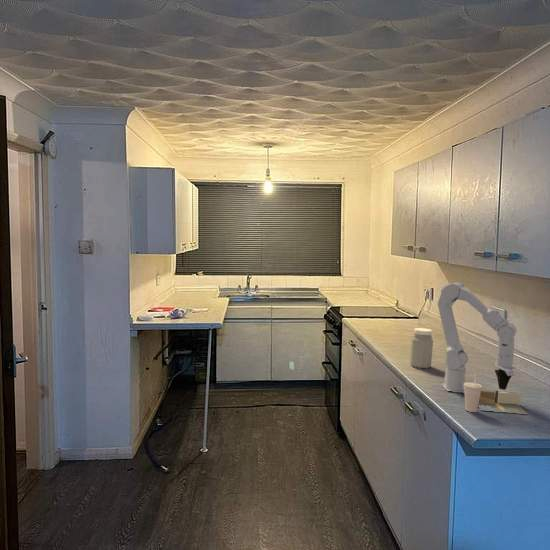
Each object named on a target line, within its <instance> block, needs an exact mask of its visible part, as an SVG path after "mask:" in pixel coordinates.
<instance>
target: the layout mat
mask: <svg viewBox="0 0 550 550" xmlns="http://www.w3.org/2000/svg"><path fill="white" fill-rule="evenodd" d="M482 405H484V406H487V405H488V406H491V408H497V407H498V408H499V409H500V410H503V411H504V410H505V409H506V410H510V412H511V413H517V414H516V415H522V414H528V412H526V411H525V409H524V408H522V406H520V404H508V403H498V402H497V403H495V399H494V403H489V402H478V407H479V406H482ZM478 407H477V408H478ZM506 410H505V411H506ZM510 412H509V413H508V412H507V413H506V414H510Z"/></svg>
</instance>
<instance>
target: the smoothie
mask: <svg viewBox="0 0 550 550" xmlns="http://www.w3.org/2000/svg"><path fill="white" fill-rule="evenodd" d="M473 379H474V381H473V382H470V381H469V382H466V381H465V383H464V391H465V393H464V405H465V407H464V408H465V409H466V410H467V411H470V412H476V413H477V410H478V402H479V398H480V393H481V391H483V385H481V384H480V383H477V373H476V372H475V373H474V377H473ZM466 410H465V411H466ZM467 411H466V412H467ZM470 412H469V413H470Z"/></svg>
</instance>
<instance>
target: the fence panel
mask: <svg viewBox="0 0 550 550" xmlns="http://www.w3.org/2000/svg"><path fill="white" fill-rule="evenodd" d="M498 403H508V404H518V405H519V406H520V405H521V404H522V393H520V392H506V391H498Z"/></svg>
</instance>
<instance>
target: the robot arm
mask: <svg viewBox="0 0 550 550" xmlns="http://www.w3.org/2000/svg"><path fill="white" fill-rule="evenodd" d="M457 300H459V301H464V302H467V303H468V304H469V305H470V306H471V307H473V308H474V310H476V311H477V312H478V313H480V314H481V315H482V320H483V321H484V322H485V323H486V324H487V325H488V326H490V328H491V329H493V331H495V332H496V335H497V337H498V342H497V351H496V353H497V354H496V361H495V363H494V365H495V368H497V369H494V373H495V375H496V378H497V384H498V389H499V390H503V391H505V390H507V387H508V385H509V381H510V380H511V378H512V377H514V370H516V368H517V367H516V366H515V365H513V363H514V354H515V353H514V352H515V336H516V334H517V332H518V331H517V328H516V326H515V325H514V324H513V322H512V323H511V322H510V320H508V319H505V318H504V317H503V316H502V315H501V314H500V311H499V310H498V309H497V310H496V309H494V308H488V306H486V305H485V304H484V302H482V300H480V299H479V298H478V297H477V295H475V294H474V292H472V290H470V288H468V287H467V286H465V285H464V284H463V282H462V283H461V282H460V281H459V282H458V281H455V282H450V283H446V284H445V285H444V286H443V287H442V289H441V290H440V296H439V298H438V301H437V307H438V312H439V317H440V320H441V325H442V330H443V334H444V338H445V342H446V351H445V353H446V357H445V363H446V364H445V365H446V368H445V372H444V382H443V383H441V385H442V387H443V388H444V390H445V389H446V390H445V391H446V392H448V391H452V392H451V393H461V392H462V393H464V394H465V391H464V383H466V381H465V380H466V370H467V369H466V365H467V363H468V360H469V357H468V354H467V353H466V352H465V350H464V347H463V344H461V341H460V337H459V333H458V329H457V324H456V320H455V315H454V311H453V305H454V304H455V303H456V301H457Z"/></svg>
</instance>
